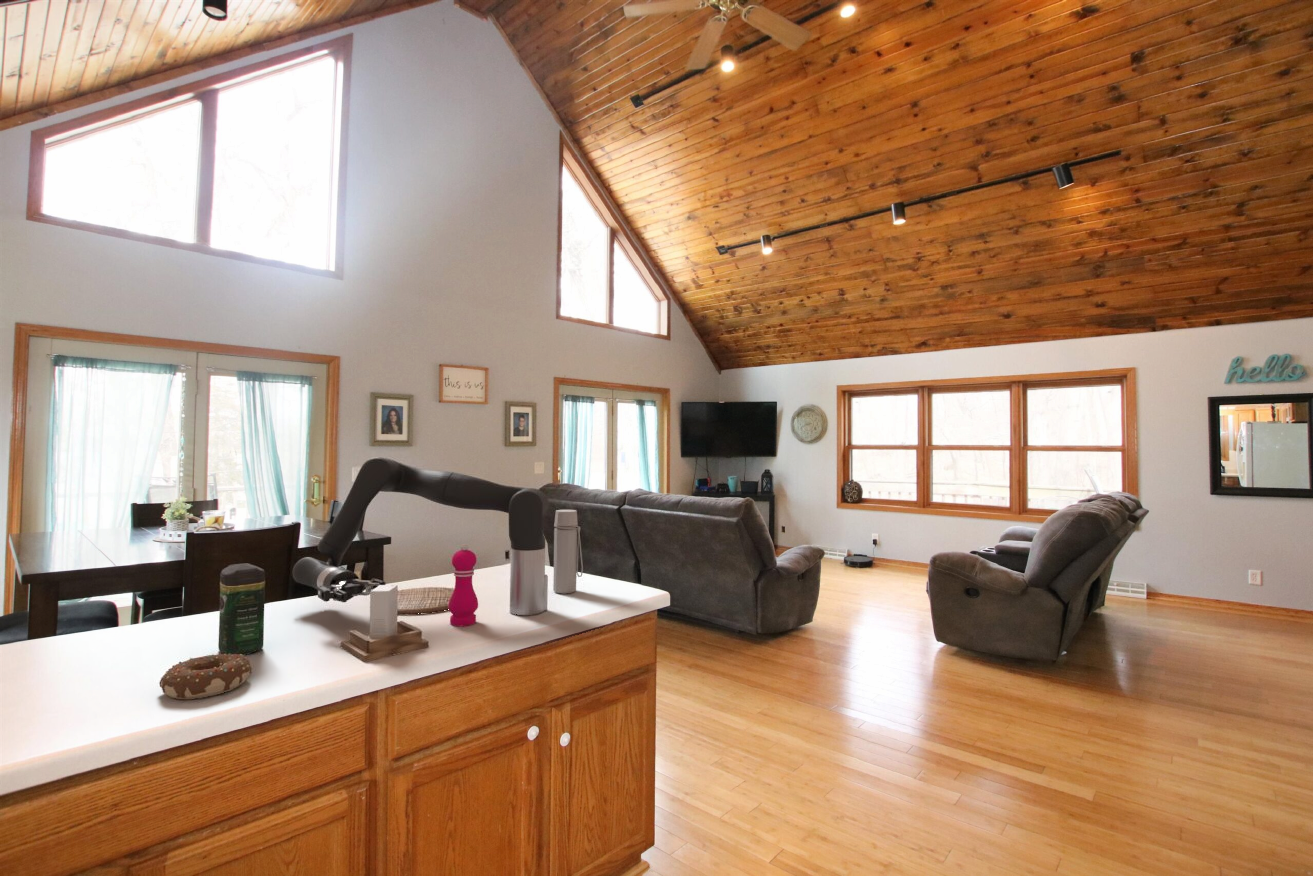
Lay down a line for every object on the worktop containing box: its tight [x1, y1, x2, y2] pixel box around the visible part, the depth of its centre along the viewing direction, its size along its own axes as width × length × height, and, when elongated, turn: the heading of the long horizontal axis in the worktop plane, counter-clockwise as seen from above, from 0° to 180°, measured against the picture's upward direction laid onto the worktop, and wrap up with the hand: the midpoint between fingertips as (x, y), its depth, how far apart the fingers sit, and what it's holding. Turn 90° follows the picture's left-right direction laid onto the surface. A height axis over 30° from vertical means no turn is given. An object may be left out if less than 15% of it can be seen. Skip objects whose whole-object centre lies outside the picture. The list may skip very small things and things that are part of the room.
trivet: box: [397, 586, 455, 615], centre depth 179 cm, size 25×25×2 cm
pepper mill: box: [448, 543, 479, 627], centre depth 160 cm, size 7×7×20 cm
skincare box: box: [369, 584, 399, 640], centre depth 141 cm, size 6×4×12 cm
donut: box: [159, 652, 253, 700], centre depth 117 cm, size 14×14×5 cm
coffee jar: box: [217, 562, 266, 656], centre depth 137 cm, size 10×8×19 cm
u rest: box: [340, 620, 429, 663], centre depth 141 cm, size 14×13×4 cm
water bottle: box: [552, 509, 584, 595], centre depth 195 cm, size 9×8×25 cm
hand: (364, 594), depth 149 cm, fingers open, 8 cm apart
